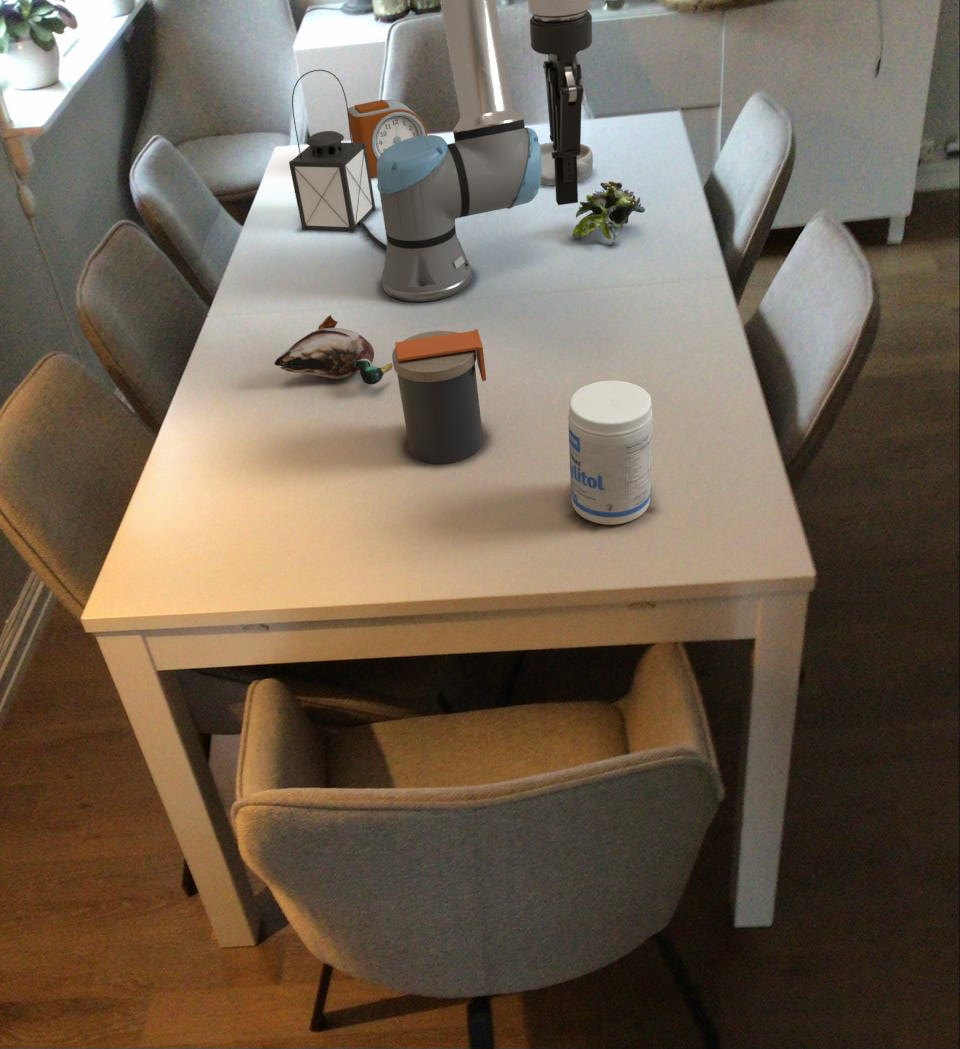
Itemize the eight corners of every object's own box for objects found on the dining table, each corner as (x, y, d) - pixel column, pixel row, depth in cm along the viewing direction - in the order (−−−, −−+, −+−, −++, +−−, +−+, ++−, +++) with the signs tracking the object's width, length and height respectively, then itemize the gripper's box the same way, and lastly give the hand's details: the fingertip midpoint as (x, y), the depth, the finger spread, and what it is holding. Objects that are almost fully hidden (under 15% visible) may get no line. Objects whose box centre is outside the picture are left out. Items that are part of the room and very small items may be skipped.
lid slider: (480, 361, 141) (477, 328, 138) (486, 380, 137) (482, 347, 134) (399, 374, 141) (394, 341, 138) (402, 393, 137) (397, 359, 134)
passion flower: (612, 256, 199) (648, 197, 195) (621, 270, 189) (659, 208, 185) (560, 226, 196) (595, 165, 192) (566, 238, 187) (603, 175, 182)
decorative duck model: (397, 351, 153) (297, 380, 148) (400, 395, 158) (304, 424, 153) (356, 304, 163) (262, 329, 158) (361, 346, 168) (269, 372, 163)
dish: (595, 185, 213) (594, 160, 210) (525, 191, 214) (523, 166, 211) (590, 159, 224) (589, 135, 221) (524, 165, 225) (522, 141, 222)
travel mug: (479, 416, 149) (469, 324, 141) (490, 458, 141) (480, 363, 132) (403, 428, 149) (389, 336, 140) (410, 470, 140) (395, 376, 132)
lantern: (376, 209, 214) (353, 61, 197) (354, 232, 206) (328, 79, 189) (325, 208, 217) (298, 61, 200) (301, 230, 209) (271, 79, 192)
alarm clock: (365, 180, 227) (355, 114, 219) (354, 168, 234) (344, 104, 226) (431, 165, 231) (424, 100, 223) (419, 153, 237) (411, 90, 229)
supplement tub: (556, 510, 131) (549, 407, 122) (601, 472, 136) (598, 370, 127) (622, 538, 125) (620, 432, 117) (667, 497, 131) (668, 393, 122)
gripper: (603, 22, 125) (605, 216, 140) (579, -3, 136) (584, 180, 150) (539, 30, 125) (548, 224, 140) (520, 4, 135) (531, 187, 150)
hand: (567, 201), depth 145 cm, fingers closed
